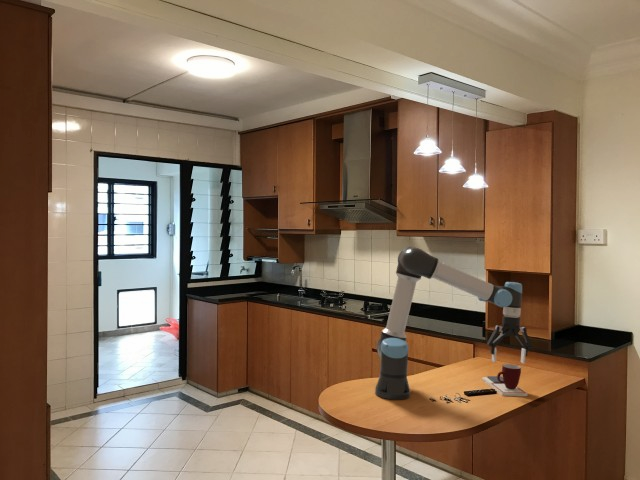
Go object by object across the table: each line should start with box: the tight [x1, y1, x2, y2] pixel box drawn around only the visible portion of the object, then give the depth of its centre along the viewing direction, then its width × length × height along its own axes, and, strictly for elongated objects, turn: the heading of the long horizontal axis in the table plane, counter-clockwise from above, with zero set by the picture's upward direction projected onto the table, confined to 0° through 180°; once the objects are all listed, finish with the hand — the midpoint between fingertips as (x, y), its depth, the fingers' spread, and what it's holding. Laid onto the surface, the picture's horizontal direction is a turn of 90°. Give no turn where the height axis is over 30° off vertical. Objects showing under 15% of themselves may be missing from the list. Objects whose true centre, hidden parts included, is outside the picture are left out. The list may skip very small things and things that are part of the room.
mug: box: [496, 363, 522, 389], centre depth 236 cm, size 11×8×10 cm
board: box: [481, 375, 529, 397], centre depth 240 cm, size 12×24×2 cm, turn 3°
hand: (508, 362), depth 235 cm, fingers open, 13 cm apart
